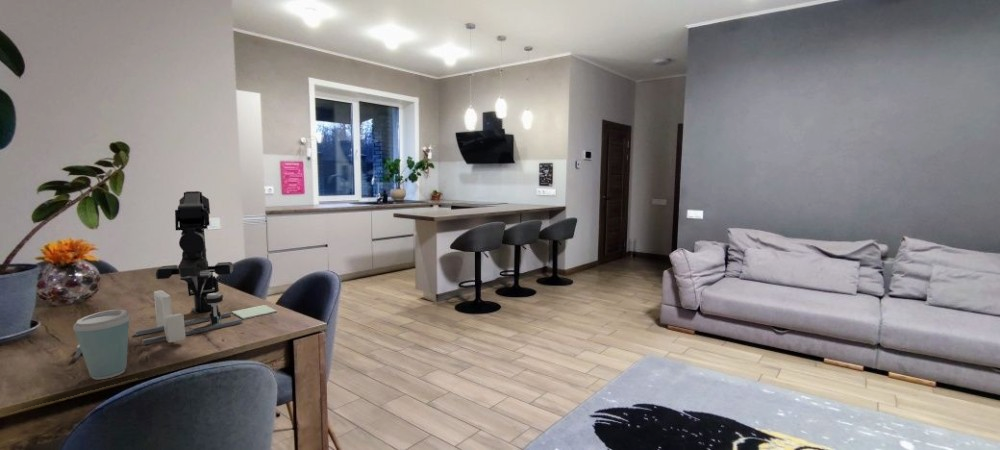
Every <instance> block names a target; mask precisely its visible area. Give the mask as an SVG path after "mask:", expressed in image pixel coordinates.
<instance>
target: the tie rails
mask: <svg viewBox="0 0 1000 450" xmlns="http://www.w3.org/2000/svg"><path fill="white" fill-rule="evenodd" d="M220 314H221V315H220V318H221V319H224V318H229V317H231V316H232V313H231V312H230V311H226V312H220ZM204 322H210V315H208V316H202V317H197V318H193V319H192V318H191V319H188V320H187V319H186V320H184V325H185V326H191V325H195V324H201V323H204ZM242 323H243V319H242V318H237V319H232V320H227V321H220V322H219V323H217V324H212V323H211V325H210V324H207V325H204V326H199V327H193V328H191V329H185V337H186V336H190V335H195V334H199V333H205V332H207V331H213V330H217V329H221V328H226V327H230V326H231V327H232V326H235V325H240V324H242ZM162 331H164V326H160V327H157V326H153V327H148V328H143V329H138V330H134V335H135V337H138V336H142V335H148V334H153V333H157V332H162ZM141 341H142V345H143V346H145V345H150V344H154V343H158V342H163V341H167V340H166V334H162V335H157V336H154V337H153V336H152V337H148V338H144V339H141Z"/></svg>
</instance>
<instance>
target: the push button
mask: <svg viewBox="0 0 1000 450" xmlns="http://www.w3.org/2000/svg"><path fill="white" fill-rule="evenodd" d="M223 298H224V294H223V295H222V294H221V293H220V292H217V293H210V294H207V297H205V298H204V300H205V303H207V304H211V311H210V312H209V314H208V316H210V321H209V325H212V324H217V323H220V322H222V318H220V315H221V311H219V306H218V304H220V303H221V302H223V301H224V300H223Z"/></svg>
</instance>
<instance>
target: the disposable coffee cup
mask: <svg viewBox="0 0 1000 450" xmlns="http://www.w3.org/2000/svg"><path fill="white" fill-rule="evenodd" d="M130 316H131V315H130V314H128V313H127V310H126V309H108V310H104V311H99V312H95V313H91V314H89V315H85V316H84V317H82V318H79V319H77V321H76V322H75V323H74V324H73V326H72V331H74V334H75V336H76V337H75V338H76V340H77V342H78V345H80V348H81V351H82V353H81V354H82V357H83V360H84V362H85V363H84V364H85V365H86V367H87V371H88V374H89V376H90V377H91V379H93V380H106V379H110V378H114V377H116V376H120V375H121V374H123V373H125V372H126V368H127V361H128V360H127V359H128V346H129V345H128V344H129V328H130V324H129V323H130V321H131V317H130Z"/></svg>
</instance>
